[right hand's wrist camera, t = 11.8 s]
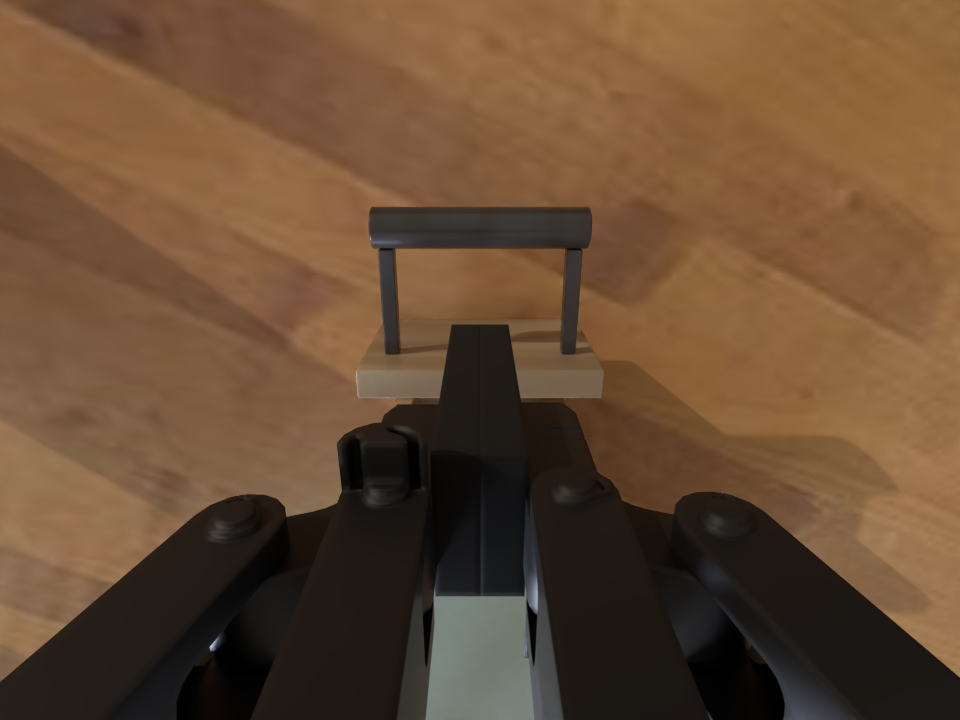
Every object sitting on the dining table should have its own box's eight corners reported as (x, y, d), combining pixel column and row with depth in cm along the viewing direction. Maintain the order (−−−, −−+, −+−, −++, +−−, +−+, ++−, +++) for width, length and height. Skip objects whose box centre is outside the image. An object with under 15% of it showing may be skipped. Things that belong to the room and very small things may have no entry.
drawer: (376, 197, 25) (340, 212, 19) (584, 197, 25) (619, 212, 19) (403, 609, 34) (386, 715, 28) (556, 609, 34) (574, 715, 28)
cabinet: (387, 473, 32) (354, 589, 23) (572, 474, 32) (605, 588, 23) (405, 716, 39) (384, 870, 31) (555, 716, 39) (575, 870, 31)
